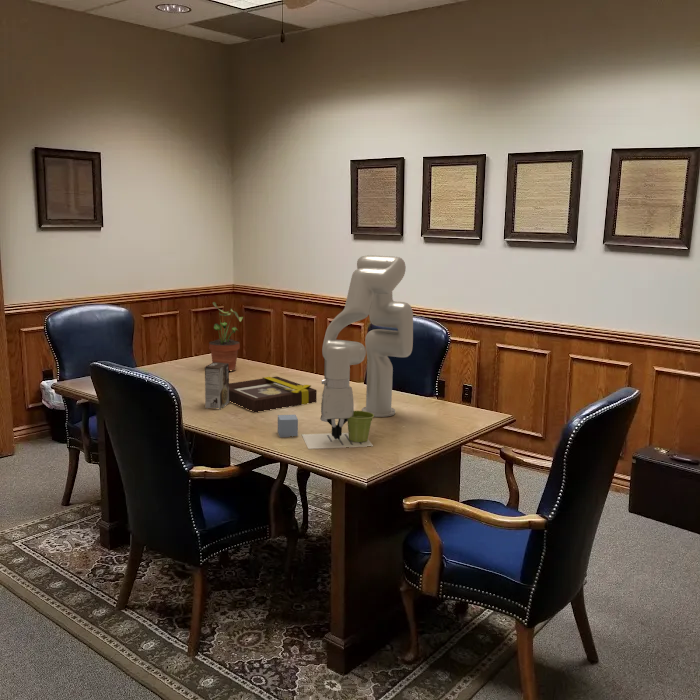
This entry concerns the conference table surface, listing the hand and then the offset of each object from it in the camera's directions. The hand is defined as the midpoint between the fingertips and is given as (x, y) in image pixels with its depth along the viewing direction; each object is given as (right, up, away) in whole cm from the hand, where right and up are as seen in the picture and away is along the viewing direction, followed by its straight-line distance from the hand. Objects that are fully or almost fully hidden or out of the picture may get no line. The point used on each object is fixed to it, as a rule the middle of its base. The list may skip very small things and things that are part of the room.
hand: (336, 437), depth 234 cm
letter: (0, -1, +1) cm, 2 cm away
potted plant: (-53, +19, +101) cm, 116 cm away
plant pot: (+7, -1, +2) cm, 7 cm away
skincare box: (-1, +10, +59) cm, 60 cm away
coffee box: (-46, +7, +40) cm, 61 cm away
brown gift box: (-28, +8, +51) cm, 59 cm away
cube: (-17, 0, +7) cm, 18 cm away
